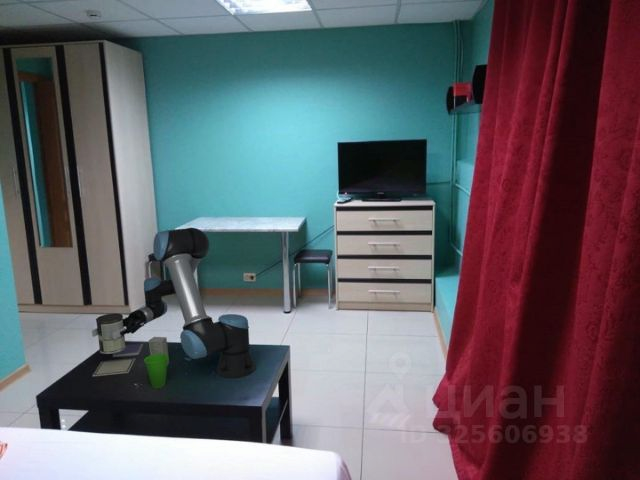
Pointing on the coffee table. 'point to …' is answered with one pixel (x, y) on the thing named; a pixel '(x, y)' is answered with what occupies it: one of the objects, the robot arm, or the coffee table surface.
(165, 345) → the skincare box
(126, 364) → the cream square tile
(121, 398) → the coffee table surface
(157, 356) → the cup
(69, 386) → the coffee table surface
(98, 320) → the coffee can
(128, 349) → the ink pad
